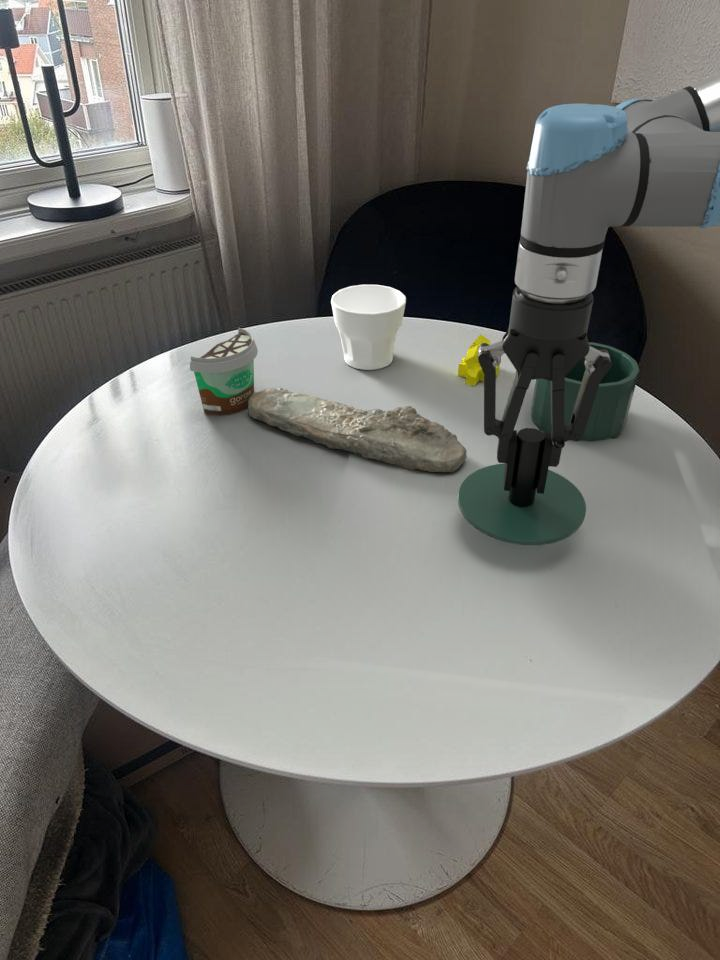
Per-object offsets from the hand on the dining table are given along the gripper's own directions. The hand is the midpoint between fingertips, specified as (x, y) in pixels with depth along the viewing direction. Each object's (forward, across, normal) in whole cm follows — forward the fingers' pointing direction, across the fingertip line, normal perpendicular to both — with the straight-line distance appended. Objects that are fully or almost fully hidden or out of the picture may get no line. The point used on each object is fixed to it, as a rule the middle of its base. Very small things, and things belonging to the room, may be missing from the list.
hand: (523, 484), depth 81 cm
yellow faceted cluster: (+8, -5, +40) cm, 41 cm away
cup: (+8, -24, +43) cm, 50 cm away
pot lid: (+3, 0, 0) cm, 3 cm away
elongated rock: (+8, -23, +18) cm, 30 cm away
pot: (+8, +10, +28) cm, 31 cm away
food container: (+7, -42, +25) cm, 50 cm away
